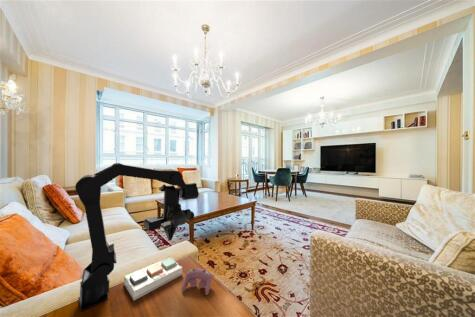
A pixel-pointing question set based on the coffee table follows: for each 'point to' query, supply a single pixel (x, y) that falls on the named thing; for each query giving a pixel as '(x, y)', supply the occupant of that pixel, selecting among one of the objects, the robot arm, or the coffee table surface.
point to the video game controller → (197, 274)
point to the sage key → (168, 263)
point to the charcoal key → (138, 277)
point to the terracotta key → (154, 270)
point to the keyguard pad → (151, 280)
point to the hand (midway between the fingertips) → (169, 240)
